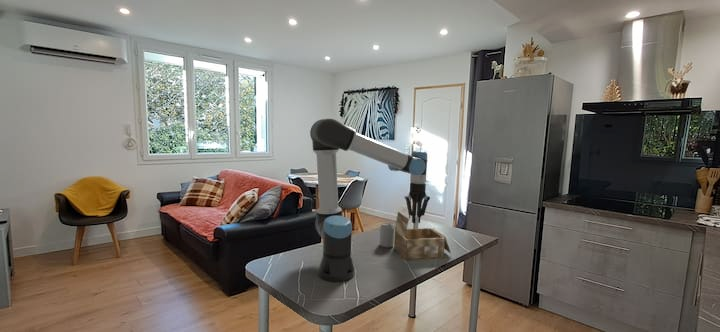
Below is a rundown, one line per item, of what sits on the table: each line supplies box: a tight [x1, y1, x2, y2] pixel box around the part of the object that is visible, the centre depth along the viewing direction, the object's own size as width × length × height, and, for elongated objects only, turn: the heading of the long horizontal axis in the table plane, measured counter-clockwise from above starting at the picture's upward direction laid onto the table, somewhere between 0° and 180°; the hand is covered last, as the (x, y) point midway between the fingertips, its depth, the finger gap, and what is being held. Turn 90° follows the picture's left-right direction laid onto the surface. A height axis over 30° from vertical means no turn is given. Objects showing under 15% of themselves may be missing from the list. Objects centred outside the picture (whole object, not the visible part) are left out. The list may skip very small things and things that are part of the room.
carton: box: [393, 227, 445, 261], centre depth 160 cm, size 20×17×10 cm
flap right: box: [431, 228, 452, 254], centre depth 163 cm, size 9×14×1 cm
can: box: [379, 221, 395, 248], centre depth 169 cm, size 8×8×12 cm
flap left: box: [394, 211, 410, 238], centre depth 157 cm, size 9×14×1 cm
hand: (415, 229), depth 159 cm, fingers closed
